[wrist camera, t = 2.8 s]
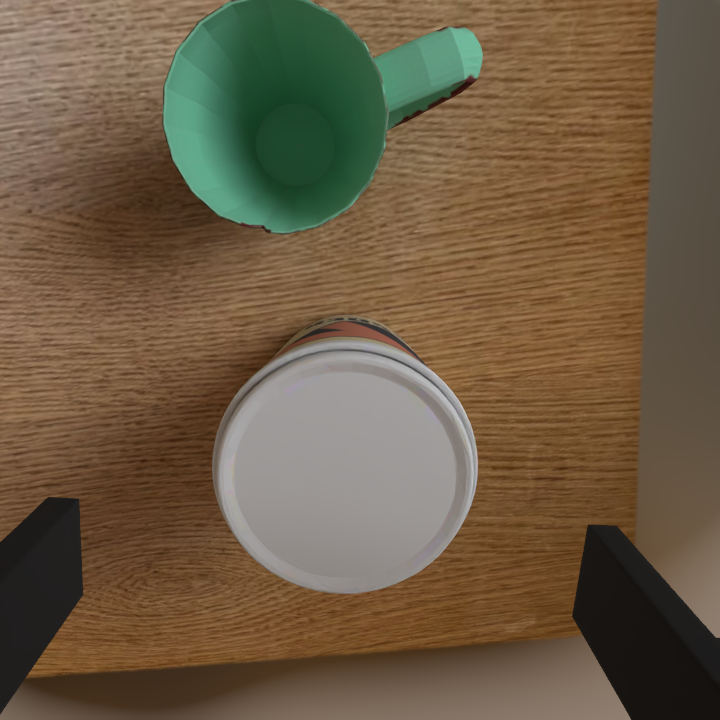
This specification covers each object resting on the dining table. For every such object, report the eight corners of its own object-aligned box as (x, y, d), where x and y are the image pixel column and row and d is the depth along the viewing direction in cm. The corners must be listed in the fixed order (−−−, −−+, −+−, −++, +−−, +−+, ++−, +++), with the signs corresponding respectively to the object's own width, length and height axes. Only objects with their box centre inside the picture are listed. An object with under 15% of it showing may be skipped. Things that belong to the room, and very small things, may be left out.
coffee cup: (453, 320, 31) (516, 381, 20) (409, 482, 33) (442, 624, 22) (277, 279, 31) (234, 317, 19) (244, 447, 33) (186, 575, 21)
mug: (251, 254, 30) (217, 266, 22) (185, 94, 28) (122, 45, 20) (476, 166, 29) (524, 147, 21) (422, -4, 28) (452, -94, 20)
